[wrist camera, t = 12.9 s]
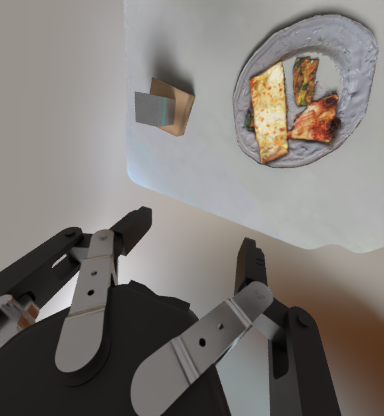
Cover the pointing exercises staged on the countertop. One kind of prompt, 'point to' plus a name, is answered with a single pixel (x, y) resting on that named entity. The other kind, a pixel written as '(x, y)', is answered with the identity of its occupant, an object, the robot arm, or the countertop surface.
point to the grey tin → (154, 109)
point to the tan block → (182, 105)
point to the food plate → (304, 92)
